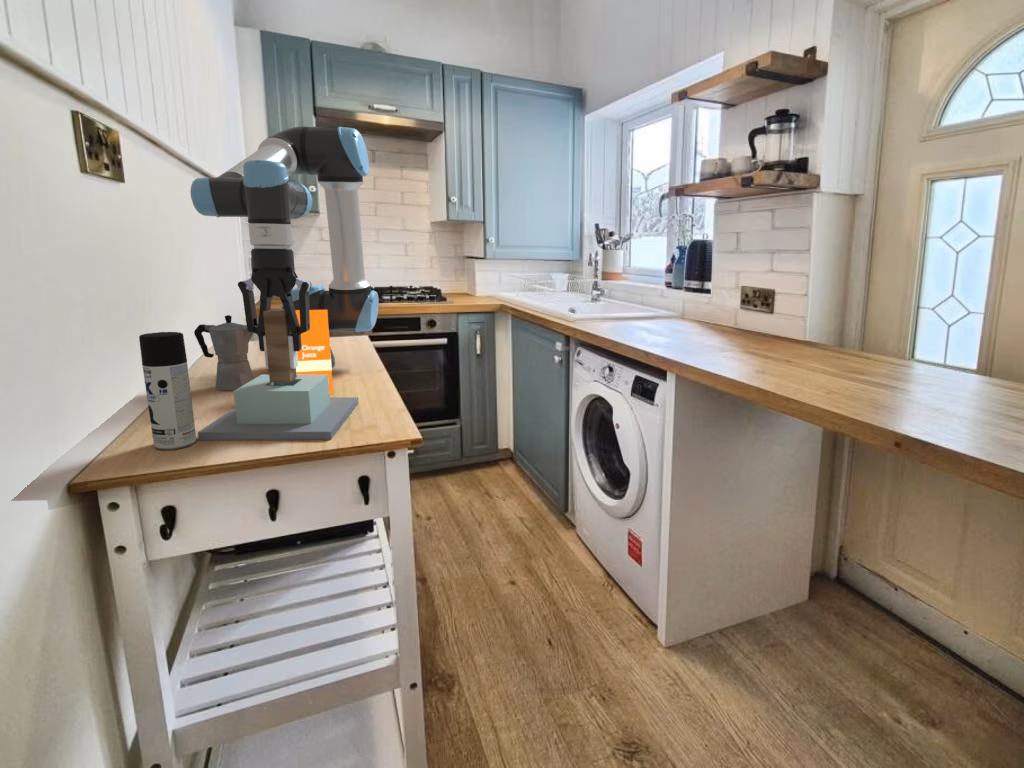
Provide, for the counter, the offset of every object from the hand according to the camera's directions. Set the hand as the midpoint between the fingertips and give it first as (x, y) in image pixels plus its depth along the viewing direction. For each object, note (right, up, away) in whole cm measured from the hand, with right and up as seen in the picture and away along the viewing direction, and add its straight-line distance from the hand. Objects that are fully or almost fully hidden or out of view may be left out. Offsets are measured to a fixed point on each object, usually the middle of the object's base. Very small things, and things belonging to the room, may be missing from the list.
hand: (282, 366), depth 113 cm
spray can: (-14, -14, -12) cm, 23 cm away
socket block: (0, -11, +3) cm, 11 cm away
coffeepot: (-25, -4, +29) cm, 38 cm away
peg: (0, -3, +1) cm, 3 cm away
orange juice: (-2, -5, +25) cm, 26 cm away
